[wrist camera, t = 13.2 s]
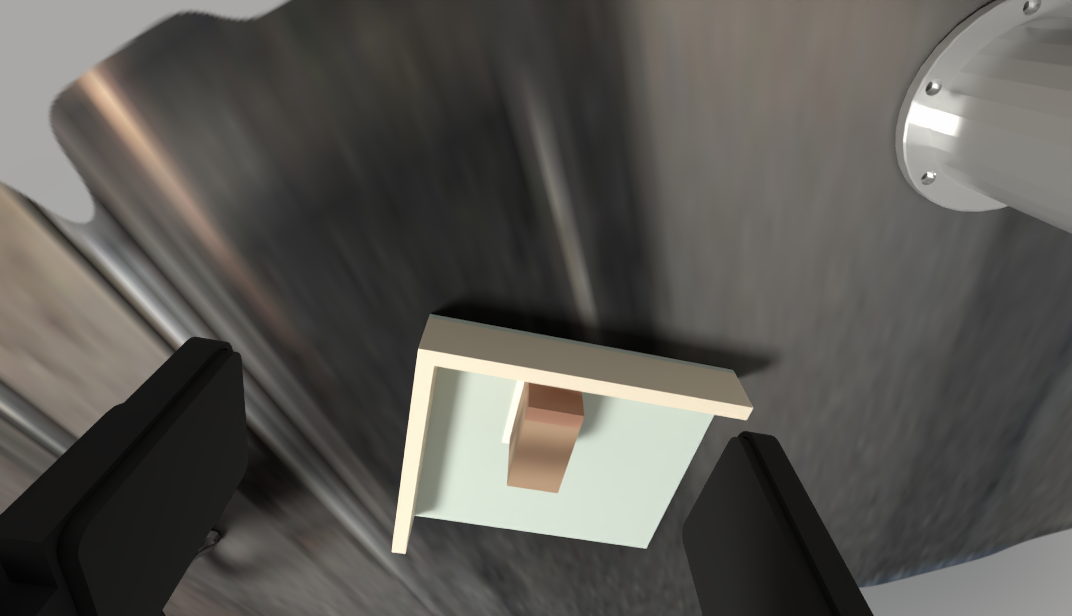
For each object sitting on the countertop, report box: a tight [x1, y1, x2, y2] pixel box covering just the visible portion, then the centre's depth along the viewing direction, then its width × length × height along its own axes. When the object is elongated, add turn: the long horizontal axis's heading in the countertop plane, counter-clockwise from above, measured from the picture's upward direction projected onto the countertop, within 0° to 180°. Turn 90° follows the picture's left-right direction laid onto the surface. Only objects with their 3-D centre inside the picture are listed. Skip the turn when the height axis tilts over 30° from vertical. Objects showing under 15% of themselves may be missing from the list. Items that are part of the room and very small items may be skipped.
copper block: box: [507, 382, 584, 493], centre depth 41 cm, size 8×4×5 cm, turn 168°
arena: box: [392, 314, 753, 554], centre depth 44 cm, size 24×22×4 cm
